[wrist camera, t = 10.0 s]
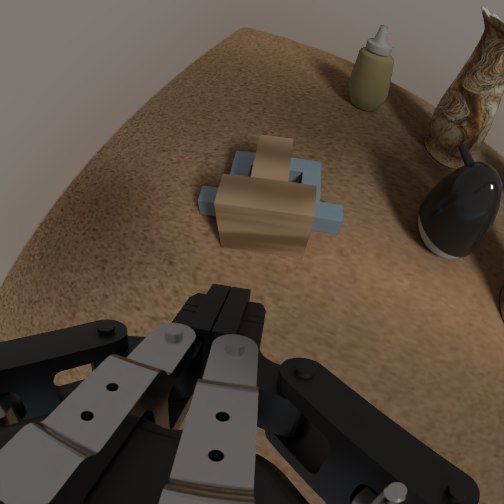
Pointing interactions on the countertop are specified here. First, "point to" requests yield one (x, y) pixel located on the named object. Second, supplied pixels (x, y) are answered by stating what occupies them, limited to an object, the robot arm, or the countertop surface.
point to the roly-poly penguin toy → (461, 208)
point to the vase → (470, 98)
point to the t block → (266, 204)
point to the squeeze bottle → (372, 73)
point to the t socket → (300, 172)
